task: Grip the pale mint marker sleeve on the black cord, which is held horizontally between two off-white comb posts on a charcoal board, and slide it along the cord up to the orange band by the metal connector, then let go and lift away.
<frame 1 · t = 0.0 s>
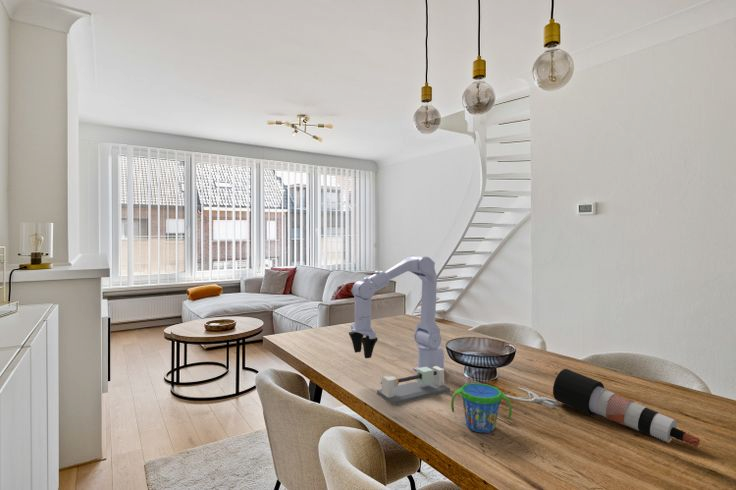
hand: (362, 354, 138), 10 cm above the table, tool pointing down, fingers open, 7 cm apart
snack cup: (480, 428, 107), on the table
cord rig: (413, 392, 130), on the table
marker sleeve: (424, 375, 132), point 5 cm above the table, slide at 0.0 cm
pliers: (532, 400, 125), on the table, touching cable
cable: (620, 425, 109), on the table, touching pliers
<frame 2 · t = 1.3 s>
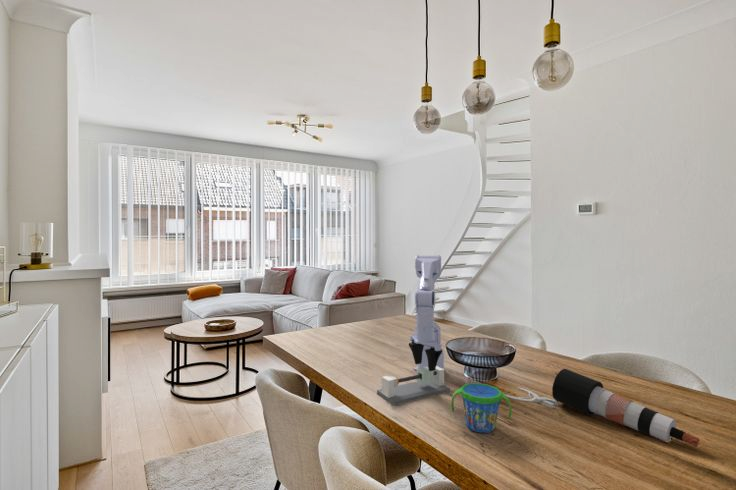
hand: (424, 367, 132), 8 cm above the table, tool pointing down, fingers open, 7 cm apart
pliers: (532, 400, 125), on the table
cable: (619, 425, 109), on the table
everything else where it was.
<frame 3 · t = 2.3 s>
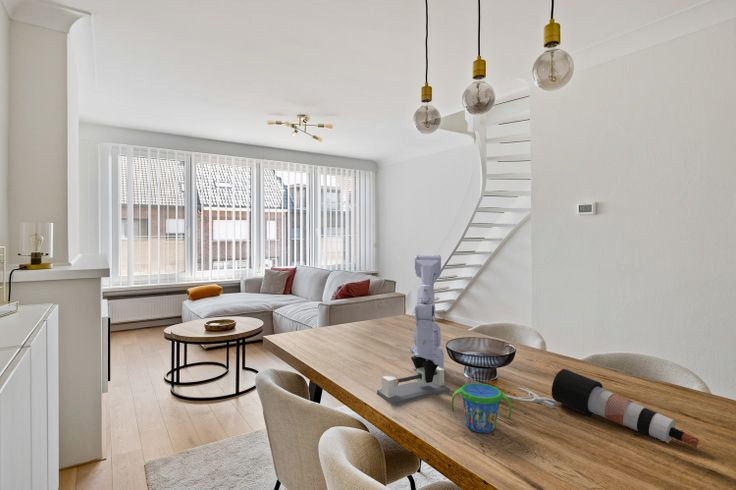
hand: (424, 380, 132), 3 cm above the table, tool pointing down, fingers closed on marker sleeve, 4 cm apart
marker sleeve: (424, 375, 132), point 5 cm above the table, slide at 0.0 cm, touching gripper
everything else where it was.
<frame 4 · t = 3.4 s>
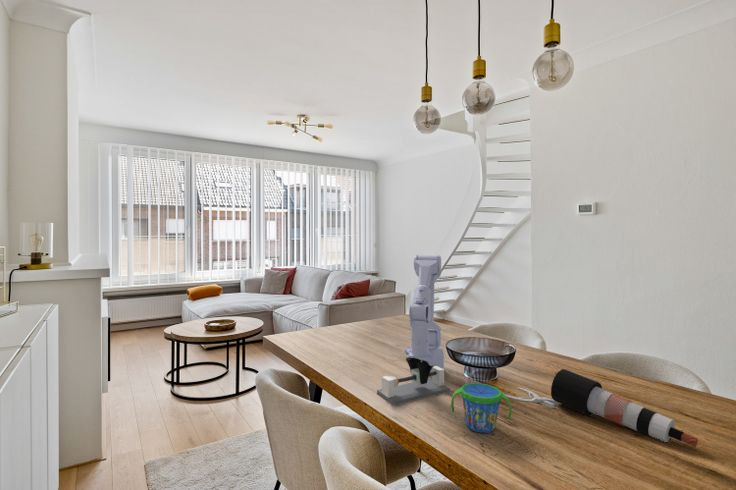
hand: (419, 381, 131), 3 cm above the table, tool pointing down, fingers closed on marker sleeve, 4 cm apart
marker sleeve: (419, 376, 131), point 5 cm above the table, slide at 2.2 cm, touching gripper
everything else where it was.
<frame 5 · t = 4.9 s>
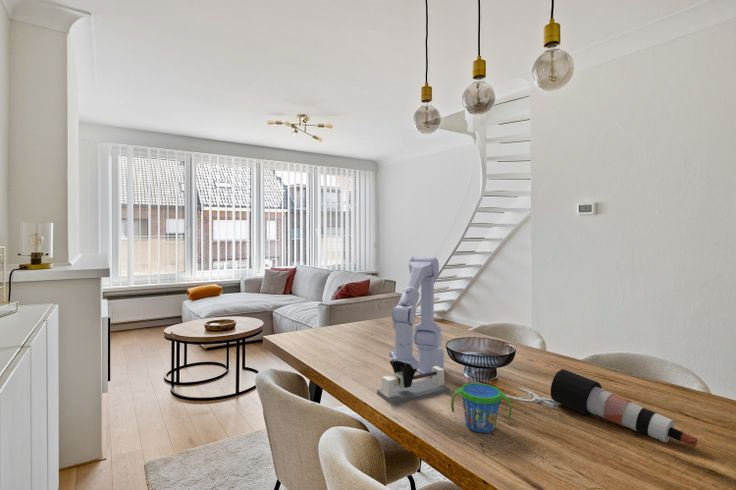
hand: (403, 384, 128), 3 cm above the table, tool pointing down, fingers closed on marker sleeve, 4 cm apart
marker sleeve: (403, 379, 128), point 5 cm above the table, slide at 8.5 cm, touching gripper
everything else where it was.
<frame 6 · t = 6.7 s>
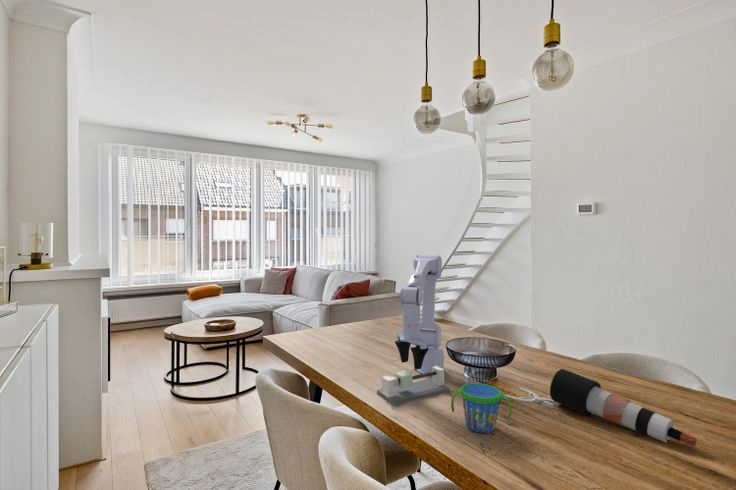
hand: (411, 365, 129), 9 cm above the table, tool pointing down, fingers open, 7 cm apart
marker sleeve: (403, 379, 128), point 5 cm above the table, slide at 8.5 cm
everything else where it was.
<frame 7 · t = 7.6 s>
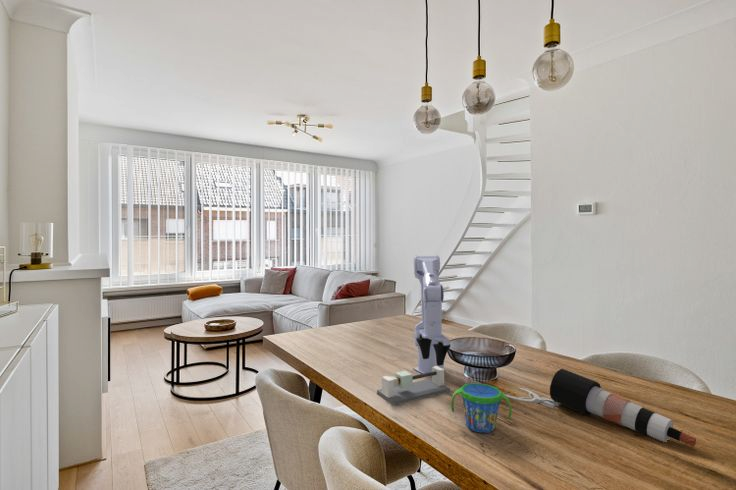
hand: (432, 361, 133), 9 cm above the table, tool pointing down, fingers open, 7 cm apart
nothing on the table moved.
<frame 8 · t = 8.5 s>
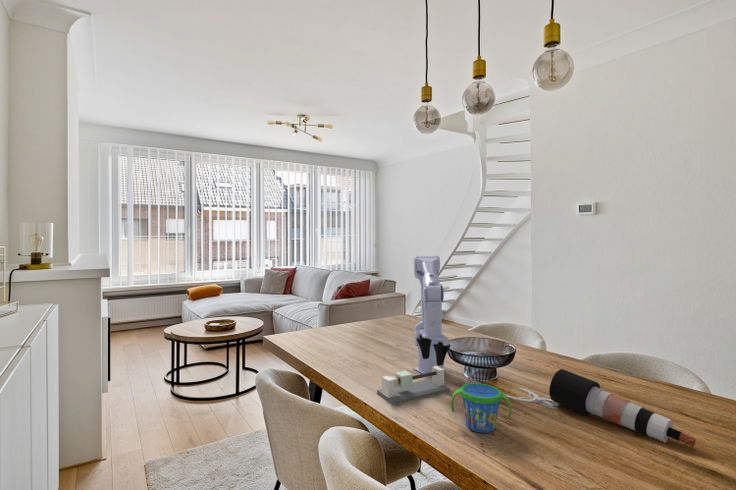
hand: (432, 361, 133), 9 cm above the table, tool pointing down, fingers open, 7 cm apart
nothing on the table moved.
at the end: marker sleeve slide at 8.5 cm; the gripper is holding nothing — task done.
